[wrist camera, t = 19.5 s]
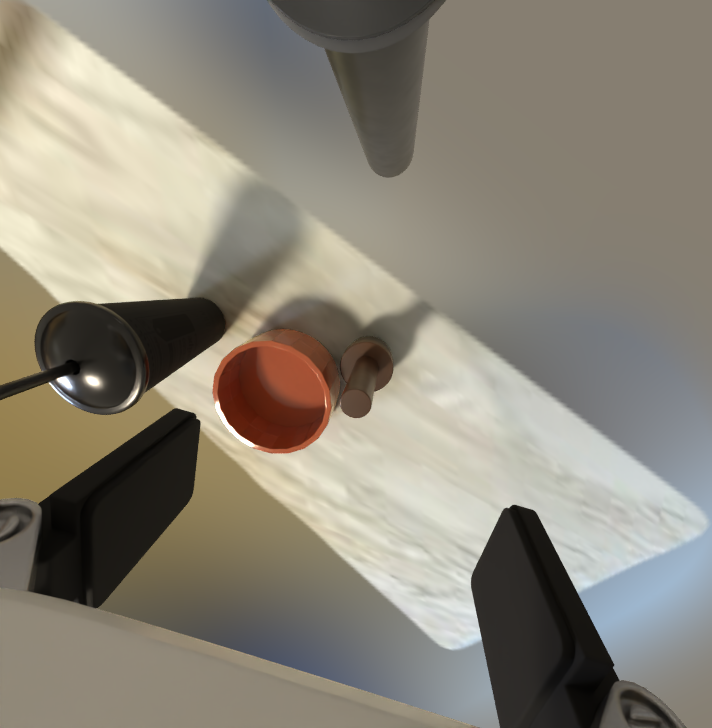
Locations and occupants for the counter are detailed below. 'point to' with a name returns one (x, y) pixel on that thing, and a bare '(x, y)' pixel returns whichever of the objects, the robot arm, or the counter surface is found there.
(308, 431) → the bowl
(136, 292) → the counter surface
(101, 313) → the drinking cup
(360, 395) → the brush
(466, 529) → the counter surface
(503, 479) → the counter surface
